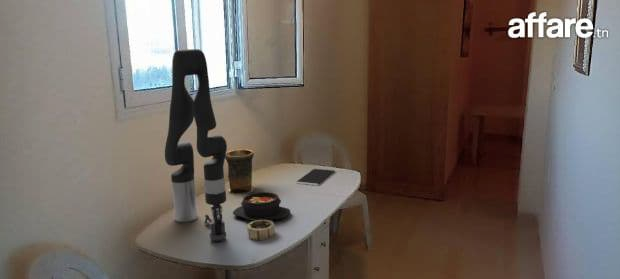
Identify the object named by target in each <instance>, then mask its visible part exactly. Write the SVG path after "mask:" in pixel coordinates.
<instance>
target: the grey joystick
mask: <svg viewBox="0 0 620 279" xmlns="http://www.w3.org/2000/svg"><path fill="white" fill-rule="evenodd" d="M210 224H211V226H210V232H209V239H210V240H211V241H223V240H225V239H226V238H227V232H226V226H225V220H222V226H221V230H222V234H221V235H216V232H215V225H214V224H215V222H214V221H213V222H211V223H210Z"/></svg>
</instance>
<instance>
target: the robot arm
mask: <svg viewBox="0 0 620 279" xmlns="http://www.w3.org/2000/svg"><path fill="white" fill-rule="evenodd" d="M171 65H172V66H171V73H172V75H171V77H172V78H171V79H172V80H171V81H172V82H171V83H172V84H171V96H170V98H171V99H170V105H169V119H168V130H167V137H166V142H165V148H164V160H165V162H166V164H167V165H168V166H171V167H174V166H179V165H182V166H181V167H180V168H179V169H177V170H175V171H173V173H171V175H170V180H171V188H172V199H173V200H172V201H173V208H174V219H175V222H178V223H188V222H193V221H195V220H196V219H198V208H197V206H198V205H197V196H196V184H195V163H194V162H195V159H194V158H195V156H194V148H193V145H192V143H191V142H190V141H187V140H186V141H180V139H181V138H182V136H183V135H184V134H185V133H186V131H187V130H188V129H189V128H190V126H191V125H192V123H193V122H195V125H196V151H197V153H198V155H200V156H201V157H202V158H211V160H209V161H207V162H205V163H204V164H203V176H204V182H203V183H204V198H205V204H207V205H209V206H210V211H211V217H212V221H213V222H215V224H214V225H215V232H216V235H221V234H222V230H221V226H222V221H223V206H222V204H224V203H225V202H226V201H227V193H226V192H227V191H226V190H227V189H226V180H225V173H224V165H225V160H226V159H225V155H226V152H227V149H228V145H227V141H226V138H224V137H223V136H222V135H212V136H208V134H209V132H210V131H212V130H215V128H216V127H217V121H216V117H215V113H214V110H213V104H212V99H211V91H210V80H209V72H208V71H209V70H208V64H207V58H206V56H205V54H204V52H203V51H202V50H201V49H199V48H194V49H193V48H192V49H191V48H190V49H189V48H188V49H179V50H178V49H177V50H175V52H173V55H172V64H171ZM187 76H196V78H197V83H198V84H197V90H196V93H195V97H194V99H193V97H192V96H191V94H190V92H189V91H188V90H187V88H186V84H185V82H186V80H185V78H186V77H187Z"/></svg>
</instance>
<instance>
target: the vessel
mask: <svg viewBox="0 0 620 279" xmlns="http://www.w3.org/2000/svg"><path fill="white" fill-rule="evenodd" d="M254 154H255V153H254V151H252V150H251V149H234V150H229V151H226V155H225V160H226V163H227V165H228V166H227V167H228V175H227V177H228V179H227V180H228V182H229V183H228V184H229V189H228V193H229V194H232V195H239V196H242V195H249V194H252V192H254V188H253V187H252V184H253V183H252V181H253V180H252V179H253V173H252V172H253V158H254Z"/></svg>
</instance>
